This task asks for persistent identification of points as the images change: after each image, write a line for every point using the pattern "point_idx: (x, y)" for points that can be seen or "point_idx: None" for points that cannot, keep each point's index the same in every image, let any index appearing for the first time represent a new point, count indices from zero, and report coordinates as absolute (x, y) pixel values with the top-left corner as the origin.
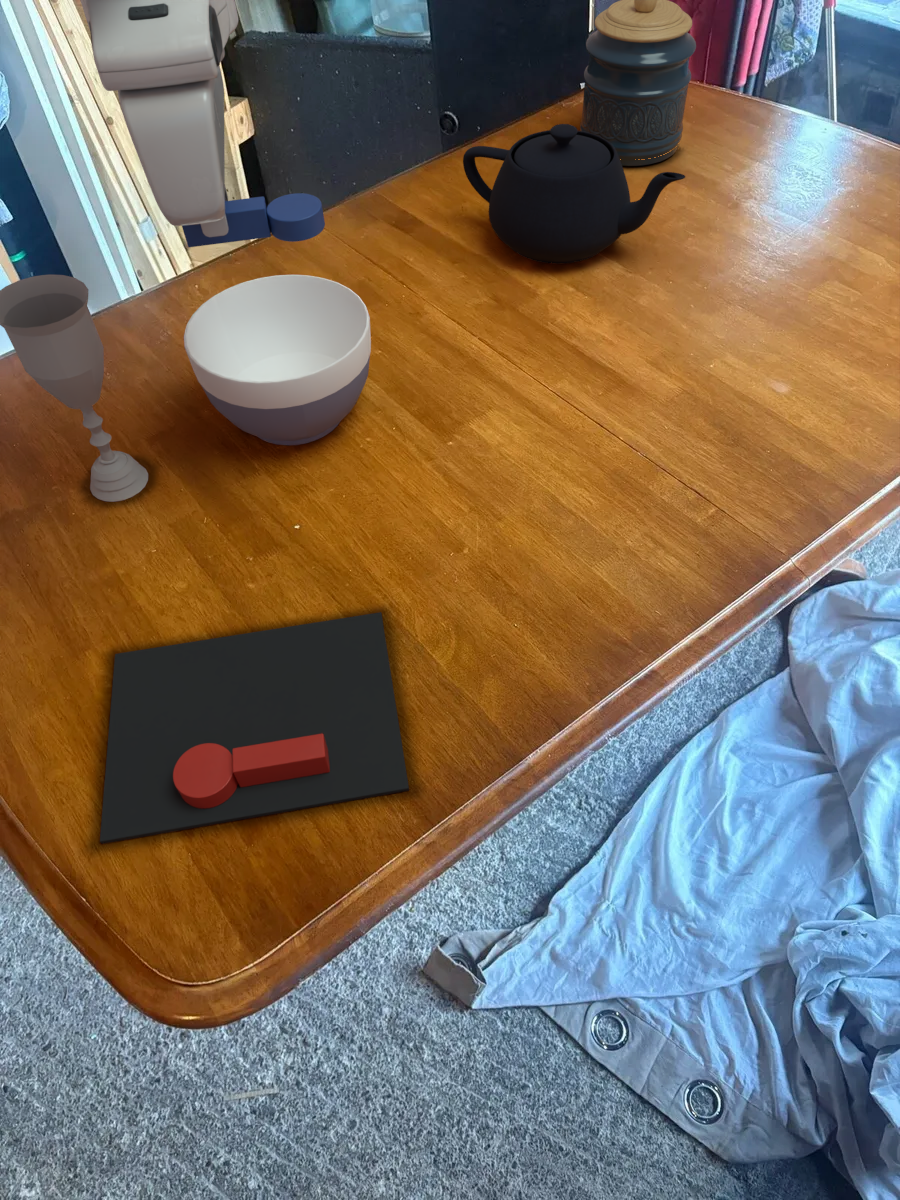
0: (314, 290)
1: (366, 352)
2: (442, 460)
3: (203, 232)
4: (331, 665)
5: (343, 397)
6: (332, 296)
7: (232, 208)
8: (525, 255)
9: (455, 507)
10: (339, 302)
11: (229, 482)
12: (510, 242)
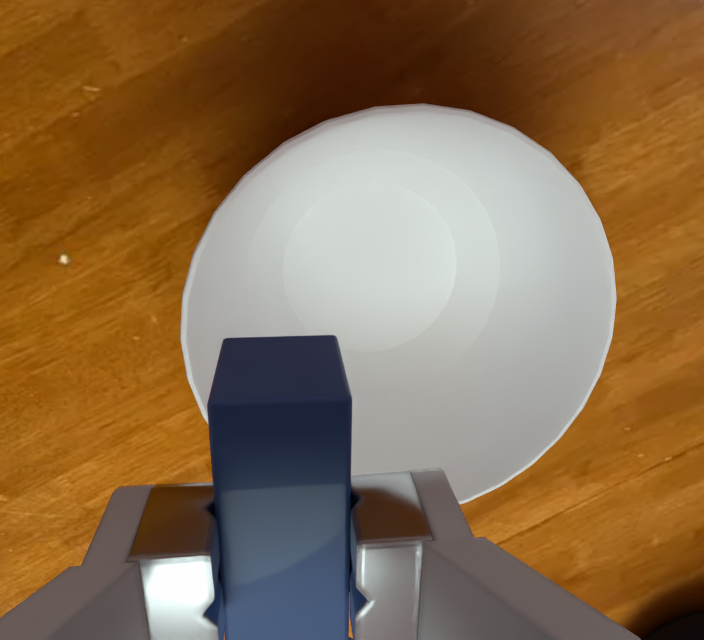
0: (556, 399)
1: None
2: (205, 482)
3: (116, 492)
4: None
5: None
6: (524, 431)
7: (260, 632)
8: (656, 634)
9: (95, 491)
10: (508, 438)
11: (194, 137)
12: (676, 637)
